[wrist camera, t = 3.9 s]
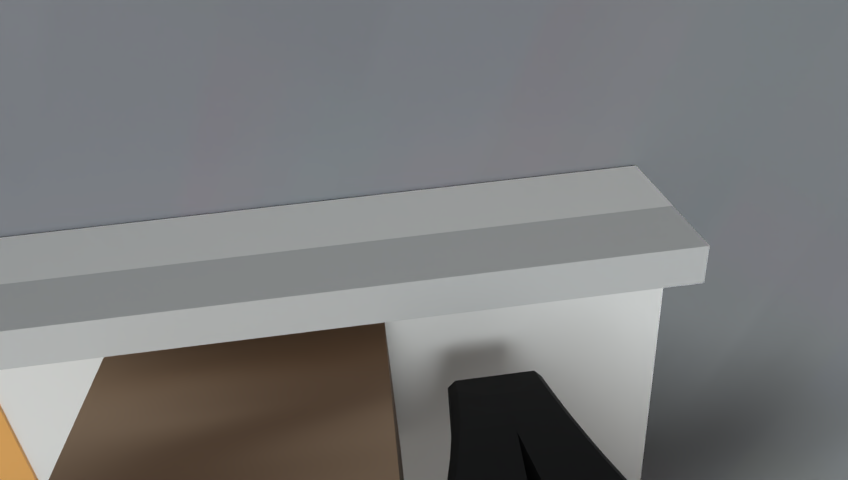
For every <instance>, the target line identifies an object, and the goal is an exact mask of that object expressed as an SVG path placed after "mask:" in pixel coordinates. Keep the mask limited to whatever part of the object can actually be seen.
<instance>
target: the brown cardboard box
mask: <svg viewBox="0 0 848 480" xmlns="http://www.w3.org/2000/svg"><path fill="white" fill-rule="evenodd" d="M49 480H404V476H403V466H402V456H401V447H400V439H399V432H398V424H397V416H396V408H395V400H394V392H393V384H392V376H391V368H390V360H389V352H388V344H387V336H386V328H385V322H384V323H376V324H367V325H359V326H351V327H343V328H335V329H327V330H319V331H311V332H303V333H295V334H287V335H279V336H270V337H262V338H254V339H246V340H238V341H230V342H222V343H214V344H206V345H198V346H190V347H182V348H173V349H165V350H157V351H149V352H141V353H133V354H125V355H117V356H109V357H104V358H103V360H102V362H101V365H100V367H99V369H98V371H97V373H96V376H95V378H94V380H93V382H92V385H91V387H90V389H89V391H88V393H87V396H86V398H85V400H84V402H83V404H82V407H81V409H80V411H79V413H78V416H77V418H76V420H75V422H74V424H73V427H72V429H71V431H70V433H69V436H68V438H67V440H66V442H65V444H64V447H63V449H62V451H61V453H60V455H59V458H58V460H57V462H56V464H55V467H54V469H53V471H52V473H51V475H50V478H49Z"/></svg>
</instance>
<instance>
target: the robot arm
mask: <svg viewBox="0 0 848 480" xmlns="http://www.w3.org/2000/svg"><path fill="white" fill-rule="evenodd" d="M448 400H449V414H450V428H451V449H450V462H449V470H448V478H447V480H627V479H626V478H625V477H624V476H623V475H622V474H621V472H620V471H619V470H618V469H617V468H616V467H615V466H614V465H613V464H612V463H611V461H610V460H609V459H608V458H607V457H606V456H605V455H604V454H603V453H602V451H601V450H600V449H599V448H598V447H597V446H596V445H595V443H594V442H593V441H592V440H591V439H590V437H589V436H588V435H587V434H586V433H585V431H584V430H583V429H582V428H581V427H580V425H579V424H578V423H577V422H576V421H575V419H574V418H573V417H572V416H571V414H570V413H569V412H568V411H567V409H566V408H565V407H564V406H563V404H562V403H561V402H560V400H559V399H558V398H557V396H556V395H555V394H554V392H553V391H552V390H551V388H550V387H549V386H548V384H547V383H546V382H545V380H544V379H543V377H542V376H541V375H540V374H538V373H537V372H536V371H526V372H519V373H511V374H503V375H495V376H488V377H480V378H472V379H464V380H457V381H454V382H453V383H452V384H451V385H450V386H449V387H448Z"/></svg>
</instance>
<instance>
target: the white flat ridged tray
mask: <svg viewBox="0 0 848 480" xmlns="http://www.w3.org/2000/svg"><path fill="white" fill-rule="evenodd" d="M709 247H710V246H709V245H708V243H707V242H706V241H705V240H704V239H703V238H702V237H701V236H700V235H699V234H698V233H697V231H696V230H695V229H694V228H693V227H692V226H691V225H690V224H689V223H688V222H687V221H686V219H685V218H684V217H683V216H682V215H681V214H680V213H679V212H678V211H677V210H676V209H675V207H674V206H673V205H672V204H671V203H670V202H669V201H668V200H667V199H666V198H665V197H664V195H663V194H662V193H661V192H660V191H659V190H658V189H657V188H656V187H655V186H654V185H653V183H652V182H651V181H650V180H649V179H648V178H647V177H646V176H645V175H644V174H643V173H642V171H641V170H640V169H639V168H638V167H637V166H627V167H618V168H609V169H601V170H592V171H583V172H574V173H565V174H556V175H548V176H539V177H530V178H521V179H512V180H504V181H495V182H486V183H477V184H468V185H460V186H451V187H442V188H433V189H424V190H415V191H407V192H398V193H389V194H380V195H371V196H363V197H354V198H345V199H336V200H327V201H318V202H310V203H301V204H292V205H283V206H274V207H266V208H257V209H248V210H239V211H230V212H221V213H213V214H204V215H195V216H186V217H177V218H169V219H160V220H151V221H142V222H133V223H125V224H116V225H107V226H98V227H89V228H80V229H72V230H63V231H54V232H45V233H36V234H28V235H19V236H10V237H1V238H0V480H49V478H50V475H51V473H52V471H53V469H54V467H55V464H56V462H57V460H58V458H59V455H60V453H61V451H62V449H63V447H64V444H65V442H66V440H67V438H68V436H69V433H70V431H71V429H72V427H73V424H74V422H75V420H76V418H77V416H78V413H79V411H80V409H81V407H82V404H83V402H84V400H85V398H86V396H87V393H88V391H89V389H90V387H91V385H92V382H93V380H94V378H95V376H96V373H97V371H98V369H99V367H100V365H101V362H102V360H103V358H104V357H109V356H117V355H125V354H133V353H141V352H149V351H157V350H165V349H173V348H182V347H190V346H198V345H206V344H214V343H222V342H230V341H238V340H246V339H254V338H262V337H270V336H279V335H287V334H295V333H303V332H311V331H319V330H327V329H335V328H343V327H351V326H359V325H367V324H376V323H384V322H385V328H386V336H387V344H388V352H389V360H390V368H391V376H392V384H393V392H394V400H395V408H396V416H397V424H398V432H399V439H400V447H401V456H402V466H403V476H404V480H447V478H448V470H449V462H450V449H451V428H450V414H449V400H448V387H449V386H450V385H451V384H452V383H453V382H454V381H457V380H464V379H472V378H480V377H488V376H495V375H503V374H511V373H519V372H526V371H536V372H537V373H538V374H540V375H541V376H542V377H543V379H544V380H545V382H546V383H547V384H548V386H549V387H550V388H551V390H552V391H553V392H554V394H555V395H556V396H557V398H558V399H559V400H560V402H561V403H562V404H563V406H564V407H565V408H566V409H567V411H568V412H569V413H570V414H571V416H572V417H573V418H574V419H575V421H576V422H577V423H578V424H579V425H580V427H581V428H582V429H583V430H584V431H585V433H586V434H587V435H588V436H589V437H590V439H591V440H592V441H593V442H594V443H595V445H596V446H597V447H598V448H599V449H600V450H601V451H602V453H603V454H604V455H605V456H606V457H607V458H608V459H609V460H610V461H611V463H612V464H613V465H614V466H615V467H616V468H617V469H618V470H619V471H620V472H621V474H622V475H623V476H624V477H625V478H626V479H627V480H641V471H642V463H643V454H644V446H645V438H646V429H647V421H648V412H649V404H650V395H651V387H652V378H653V370H654V361H655V353H656V345H657V336H658V328H659V319H660V311H661V302H662V294H663V288H667V287H675V286H683V285H691V284H699V283H704V280H705V273H706V267H707V260H708V254H709Z"/></svg>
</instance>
